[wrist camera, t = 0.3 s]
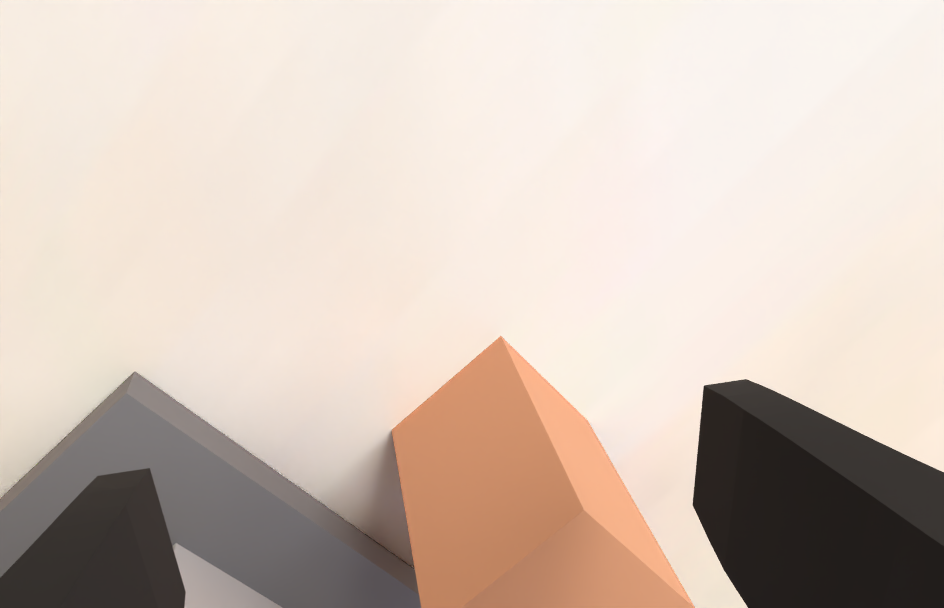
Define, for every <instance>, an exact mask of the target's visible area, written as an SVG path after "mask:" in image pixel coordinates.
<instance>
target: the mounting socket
mask: <svg viewBox="0 0 944 608" xmlns="http://www.w3.org/2000/svg"><path fill="white" fill-rule="evenodd" d="M147 468H150V470H151V474H152V477H153V481H154V484H155V488H156V491H157V495H158V498H159V501H160V505H161V508H162V512H163V515H164V519H165V522H166V526H167V529H168V533H169V536H170V539H171V543H172V546H173V550H174V553H175V557H176V560H177V564H178V567H179V571H180V574H181V577H182V581H183V584H184V588H185V591H186V595H185V606H184V608H421V603H420V597H419V591H418V585H417V579H416V573H415V569H413V568H412V567H410V566H409V565H408V564H406V563H405V562H403V561H402V560H401V559H399V558H398V557H396V556H395V555H393V554H392V553H391V552H389V551H388V550H386V549H385V548H384V547H382V546H381V545H379V544H378V543H376V542H375V541H374V540H372V539H371V538H369V537H368V536H367V535H365V534H364V533H362V532H361V531H360V530H358V529H357V528H355V527H354V526H352V525H351V524H350V523H348V522H347V521H345V520H344V519H343V518H341V517H340V516H338V515H337V514H336V513H334V512H333V511H331V510H330V509H328V508H327V507H326V506H324V505H323V504H321V503H320V502H319V501H317V500H316V499H314V498H313V497H311V496H310V495H309V494H307V493H306V492H304V491H303V490H302V489H300V488H299V487H297V486H296V485H295V484H293V483H292V482H290V481H289V480H287V479H286V478H285V477H283V476H282V475H280V474H279V473H278V472H276V471H275V470H273V469H272V468H270V467H269V466H268V465H266V464H265V463H263V462H262V461H261V460H259V459H258V458H256V457H255V456H254V455H252V454H251V453H249V452H248V451H246V450H245V449H244V448H242V447H241V446H239V445H238V444H237V443H235V442H234V441H232V440H231V439H229V438H228V437H227V436H225V435H224V434H222V433H221V432H220V431H218V430H217V429H215V428H214V427H213V426H211V425H210V424H208V423H207V422H205V421H204V420H203V419H201V418H200V417H198V416H197V415H196V414H194V413H193V412H191V411H190V410H188V409H187V408H186V407H184V406H183V405H181V404H180V403H179V402H177V401H176V400H174V399H173V398H172V397H170V396H169V395H167V394H166V393H164V392H163V391H162V390H160V389H159V388H157V387H156V386H155V385H153V384H152V383H150V382H149V381H147V380H146V379H145V378H143V377H142V376H140V375H139V374H138V373H136V372H134V373H133V374H132V375H131V376H130V377H129V378H128V379H127V380H126V381H124V382H123V383H122V384H121V385H120V386H119V387H118V388H117V389H116V390H115V391H114V392H113V393H112V394H111V395H110V396H109V397H108V398H107V399H105V400H104V401H103V402H102V403H101V404H100V405H99V406H98V407H97V408H96V409H95V410H94V411H93V412H92V413H91V414H90V415H89V416H87V417H86V418H85V419H84V420H83V421H82V422H81V423H80V424H79V425H78V426H77V427H76V428H75V429H74V430H73V431H72V432H71V433H69V434H68V435H67V436H66V437H65V438H64V439H63V440H62V441H61V442H60V443H59V444H58V445H57V446H56V447H55V448H54V449H53V450H51V451H50V452H49V453H48V454H47V455H46V456H45V457H44V458H43V459H42V460H41V461H40V462H39V463H38V464H37V465H36V466H35V467H34V468H32V469H31V470H30V471H29V472H28V473H27V474H26V475H25V476H24V477H23V478H22V479H21V480H20V481H19V482H18V483H17V484H16V485H14V486H13V487H12V488H11V489H10V490H9V491H8V492H7V493H6V494H5V495H4V496H3V497H2V498H1V499H0V577H1V576H2V575H3V574H4V573H5V572H6V571H7V570H8V569H9V568H10V567H11V566H12V565H13V564H14V563H15V562H16V561H17V560H18V559H19V558H20V557H21V556H22V554H23V553H24V552H25V551H26V550H27V549H28V548H29V547H30V546H31V545H32V544H33V543H34V542H35V541H36V540H37V539H38V538H39V537H40V535H41V534H42V533H43V532H44V531H45V530H46V529H47V528H48V527H49V526H50V525H51V524H52V523H53V522H54V521H55V519H56V518H57V517H58V516H59V515H60V514H61V513H62V512H63V511H64V510H65V509H66V508H67V507H68V506H69V504H70V503H71V502H72V501H73V500H74V499H75V498H76V497H77V496H78V495H79V494H80V493H81V492H82V491H83V490H84V489H85V488H86V487H87V486H88V485H89V484H90V483H91V482H92V481H93V480H94V479H95V478H96V477H97V476H100V475H106V474H113V473H120V472H126V471H133V470H140V469H147Z"/></svg>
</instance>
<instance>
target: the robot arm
mask: <svg viewBox="0 0 944 608" xmlns="http://www.w3.org/2000/svg"><path fill="white" fill-rule="evenodd" d="M693 507H694V509H695V511H696V513H697V515H698V517H699V520H700V522H701V524H702V526H703V528H704V530H705V532H706V535H707V537H708V539H709V541H710V543H711V545H712V547H713V549H714V551H715V553H716V555H717V557H718V559H719V561H720V563H721V565H722V567H723V569H724V571H725V572H726V574H727V575H728V577H729V579H730V580H731V582H732V583H733V585H734V587H735V588H736V590H737V591H738V593H739V594H740V596H741V597H742V599H743V600H744V602H745V603H746V605H747V607H748V608H944V472H941V471H939V470H937V469H935V468H933V467H930V466H928V465H926V464H924V463H922V462H920V461H917V460H915V459H913V458H911V457H909V456H907V455H904V454H902V453H900V452H898V451H896V450H894V449H892V448H890V447H888V446H886V445H883V444H881V443H879V442H877V441H875V440H873V439H871V438H869V437H867V436H865V435H863V434H861V433H859V432H857V431H855V430H853V429H851V428H849V427H847V426H845V425H843V424H840V423H838V422H836V421H834V420H832V419H830V418H828V417H826V416H824V415H822V414H820V413H818V412H816V411H814V410H812V409H810V408H808V407H806V406H804V405H802V404H800V403H798V402H796V401H794V400H792V399H790V398H788V397H786V396H783V395H781V394H779V393H777V392H775V391H773V390H771V389H768V388H766V387H764V386H761V385H759V384H757V383H754V382H752V381H749V380H746V379H745V380H738V381H731V382H725V383H718V384H711V385H705V386H704V390H703V401H702V412H701V422H700V433H699V444H698V454H697V465H696V476H695V486H694V497H693ZM185 595H186V591H185V588H184V584H183V581H182V577H181V574H180V571H179V567H178V564H177V560H176V557H175V553H174V550H173V546H172V543H171V539H170V536H169V533H168V529H167V526H166V522H165V519H164V515H163V512H162V508H161V505H160V501H159V498H158V495H157V491H156V488H155V484H154V481H153V477H152V474H151V470H150V468H147V469H140V470H133V471H126V472H120V473H113V474H106V475H100V476H97V477H96V478H95V479H94V480H93V481H92V482H91V483H90V484H89V485H88V486H87V487H86V488H85V489H84V490H83V491H82V492H81V493H80V494H79V495H78V496H77V497H76V498H75V499H74V500H73V501H72V502H71V503H70V504H69V506H68V507H67V508H66V509H65V510H64V511H63V512H62V513H61V514H60V515H59V516H58V517H57V518H56V519H55V521H54V522H53V523H52V524H51V525H50V526H49V527H48V528H47V529H46V530H45V531H44V532H43V533H42V534H41V535H40V537H39V538H38V539H37V540H36V541H35V542H34V543H33V544H32V545H31V546H30V547H29V548H28V549H27V550H26V551H25V552H24V553H23V554H22V556H21V557H20V558H19V559H18V560H17V561H16V562H15V563H14V564H13V565H12V566H11V567H10V568H9V569H8V570H7V571H6V572H5V573H4V574H3V575H2V576H1V577H0V608H184V606H185Z"/></svg>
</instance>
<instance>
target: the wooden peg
mask: <svg viewBox="0 0 944 608" xmlns="http://www.w3.org/2000/svg"><path fill="white" fill-rule="evenodd" d="M392 435H393V441H394V447H395V453H396V459H397V465H398V471H399V477H400V483H401V489H402V495H403V501H404V507H405V513H406V519H407V525H408V531H409V537H410V543H411V549H412V555H413V561H414V567H415V573H416V579H417V585H418V591H419V597H420V603H421V608H695V607H694V605H693V604H692V602H691V600H690V598H689V597H688V595H687V593H686V591H685V590H684V588H683V586H682V584H681V583H680V581H679V579H678V577H677V576H676V574H675V572H674V570H673V569H672V567H671V565H670V564H669V562H668V560H667V558H666V557H665V555H664V553H663V551H662V550H661V548H660V546H659V544H658V543H657V541H656V539H655V537H654V536H653V534H652V532H651V530H650V529H649V527H648V525H647V523H646V522H645V520H644V518H643V516H642V515H641V513H640V511H639V509H638V508H637V506H636V504H635V502H634V501H633V499H632V497H631V495H630V494H629V492H628V490H627V488H626V487H625V485H624V483H623V481H622V480H621V478H620V476H619V475H618V473H617V471H616V469H615V468H614V466H613V464H612V462H611V461H610V459H609V457H608V455H607V454H606V452H605V450H604V448H603V447H602V445H601V443H600V441H599V440H598V438H597V436H596V434H595V433H594V431H593V429H592V427H591V426H590V424H589V422H588V420H586V419H585V418H584V417H583V416H582V415H581V414H580V413H579V412H578V411H577V410H576V409H575V408H574V407H573V406H572V405H571V404H570V403H569V402H568V401H567V400H566V399H565V398H564V397H563V396H562V395H561V394H560V393H559V392H558V391H557V390H556V389H555V388H554V387H553V386H552V385H551V384H550V383H549V382H547V381H546V380H545V379H544V378H543V377H542V376H541V375H540V374H539V373H538V372H537V371H536V370H535V369H534V368H533V367H532V366H531V365H530V364H529V363H528V362H527V361H526V360H525V359H524V358H523V357H522V356H521V355H520V354H519V353H518V352H517V351H516V350H515V349H514V348H513V347H512V346H511V345H510V344H508V343H507V342H506V341H505V340H504V339H503V338H502V337H501V336H500V337H499V338H498V339H497V340H496V341H495V342H493V343H492V344H491V345H490V346H489V347H488V348H486V349H485V350H484V351H483V352H482V353H481V354H479V355H478V356H477V357H476V358H475V359H474V360H472V361H471V362H470V363H469V364H468V365H467V366H466V367H464V368H463V369H462V370H461V371H460V372H459V373H457V374H456V375H455V376H454V377H453V378H452V379H450V380H449V381H448V382H447V383H446V384H445V385H443V386H442V387H441V388H440V389H439V390H438V391H436V392H435V393H434V394H433V395H432V396H431V397H430V398H428V399H427V400H426V401H425V402H424V403H423V404H421V405H420V406H419V407H418V408H417V409H416V410H414V411H413V412H412V413H411V414H410V415H409V416H407V417H406V418H405V419H404V420H403V421H402V422H400V423H399V424H398V425H397V426H396V427H395V428H394V429H392Z"/></svg>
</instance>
